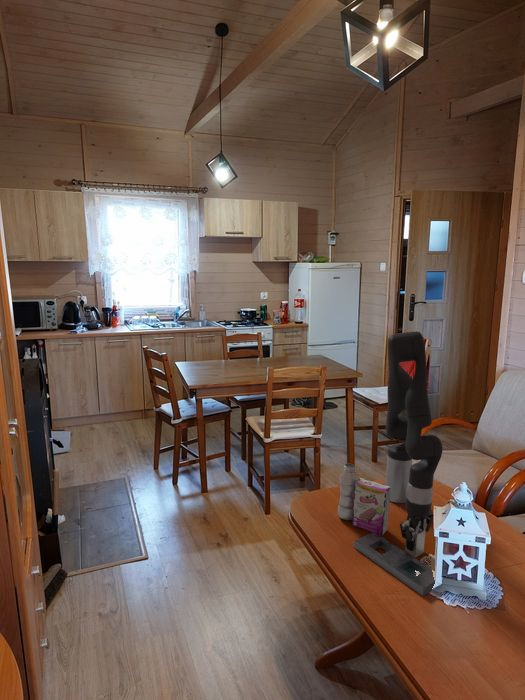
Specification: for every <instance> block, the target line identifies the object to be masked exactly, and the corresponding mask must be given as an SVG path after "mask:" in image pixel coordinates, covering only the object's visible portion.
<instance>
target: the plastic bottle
mask: <svg viewBox="0 0 525 700" xmlns="http://www.w3.org/2000/svg"><path fill="white" fill-rule="evenodd" d="M343 466H344V467H343V472H342V473H341V474H340V475H339V480H338V481H339V503H338V506H337V515H338V517H339V518H341V520H344V521H352V518H353V505H354V492H355V482H356V481H358V480H359V477H358V476H357V474H356V473H355V472H356V465H355V464H353V463H345V464H344V465H343Z"/></svg>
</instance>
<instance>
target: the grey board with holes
mask: <svg viewBox="0 0 525 700" xmlns="http://www.w3.org/2000/svg"><path fill="white" fill-rule="evenodd" d="M353 543H354V544H353V547H354V549H355V550H357V551H358V552H359V553H361V554H362V555H364V556H365V557H367V558H368V559H369V560H370V561H373V563H375V564H376V565H378V566H380V567H381V568H382V569H383V570H385V571H386V572H387V573H389V574H390V575H392V576H393V577H395V578H396V579H398V580H399V581H400V582H402V583H403V584H404V585H406V586H407V587H409V588H410V589H412V591H414V592H416V593H417V594H419V596H421V597H424V596H426V595H427V594H429V593H431V592H432V591H433V590H432V588H433V586H434V584H435V580H434V577H433V572H432V568H431V567H429V566H427V564H425V563H423V562H421V560H419V559H417V558H416V557H413V556H412V555H410V554H409V553H407V552H406V551H405V550H403V549H401V548H400V547H398V546H397V545H395V544H393V543H392V542H390V541H389V540H388V539H386V538H384V537H383V536H381V535H378V534H377V533H375V532H370V533H368V534H366V535H362V536H361V537H359V538H357V539H355V540H354V542H353ZM379 548H380V549H382V550H384V551H385V553H383V554H382V553H380V552H378V551H377V550H376V549H379ZM415 570H416V571H419V572H420V573H421V574H419V575H418V576H416V574H415V573H416V572H415ZM431 590H432V591H431Z"/></svg>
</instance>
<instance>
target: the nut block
mask: <svg viewBox="0 0 525 700" xmlns="http://www.w3.org/2000/svg"><path fill="white" fill-rule="evenodd" d="M410 528H411V527H410ZM411 529H412V528H411ZM413 530H415V529H413ZM426 533H427V532H426V530H423V529H421V528H419V529H418V533H417V534H415V539H414V549H413V551H410V550H408V549H407V548H406V542H407V540H406V539H405V545H404V546H405V547H404V551H405V552H406V553H408V554H409V555H411V556H412V557H414V558H417V557H419V556H421V555H422V554H424V550H425V539H426ZM410 535H411V536H412V533H411V532H410Z"/></svg>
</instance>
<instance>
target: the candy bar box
mask: <svg viewBox="0 0 525 700" xmlns="http://www.w3.org/2000/svg"><path fill="white" fill-rule="evenodd" d="M390 490H391V487H389V486H386V485H385V484H382V483H379V482H375V481H372V480H369V479H366V478H363V477H358V481H356V482H355V492H354V505H353V518H352V520H351V526H353V527H356V528H358V529H362V530H365V531H367V532H368V533H369V532H370V533H372V532H375V533H377V534H378V535H380V536H381V537H383V536H384V535H385V533H386V532H387V530H388V523H389V522H388V521H389V510H390V502H391V501H390Z"/></svg>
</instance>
